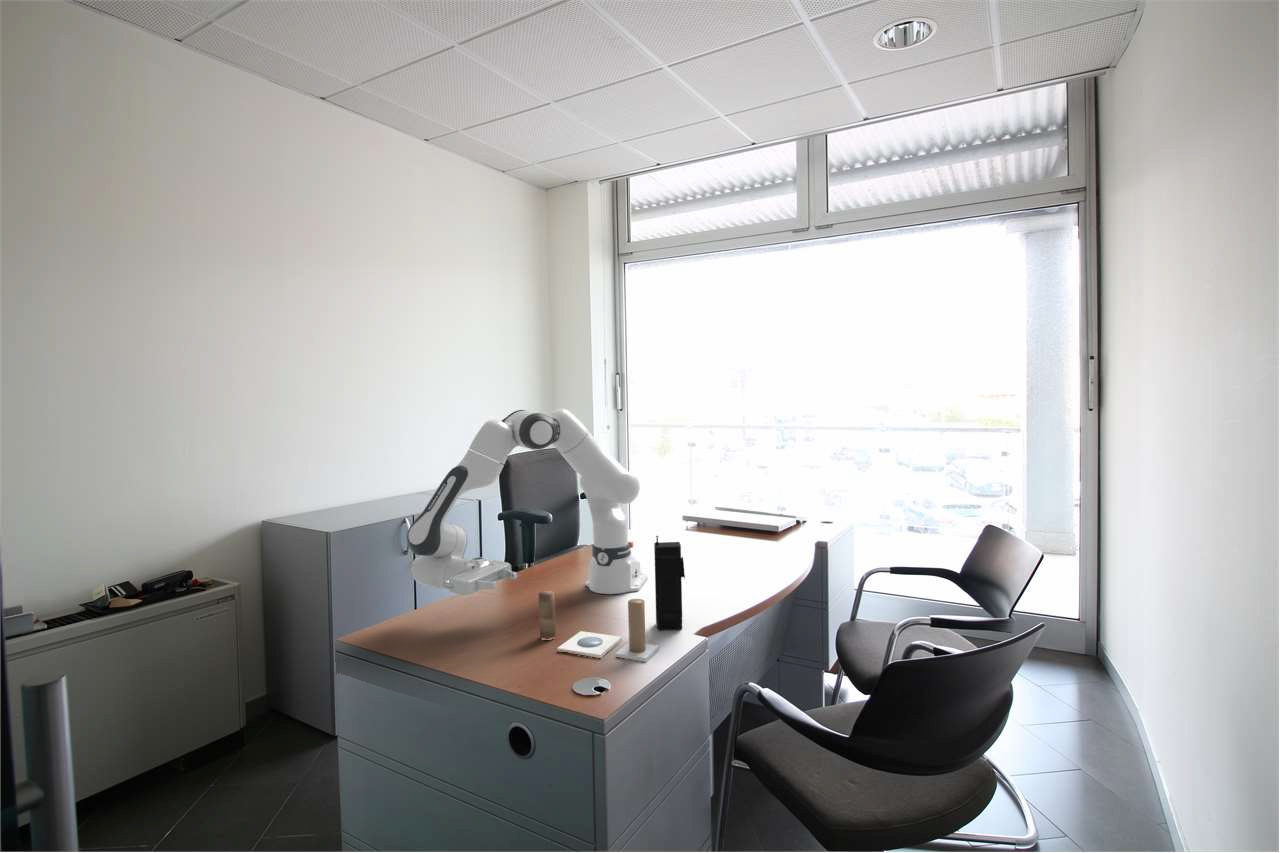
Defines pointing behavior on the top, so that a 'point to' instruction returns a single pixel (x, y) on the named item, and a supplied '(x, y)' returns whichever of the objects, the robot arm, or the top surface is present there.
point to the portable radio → (668, 585)
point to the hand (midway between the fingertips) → (505, 580)
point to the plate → (590, 643)
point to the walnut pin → (547, 614)
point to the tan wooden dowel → (637, 634)
